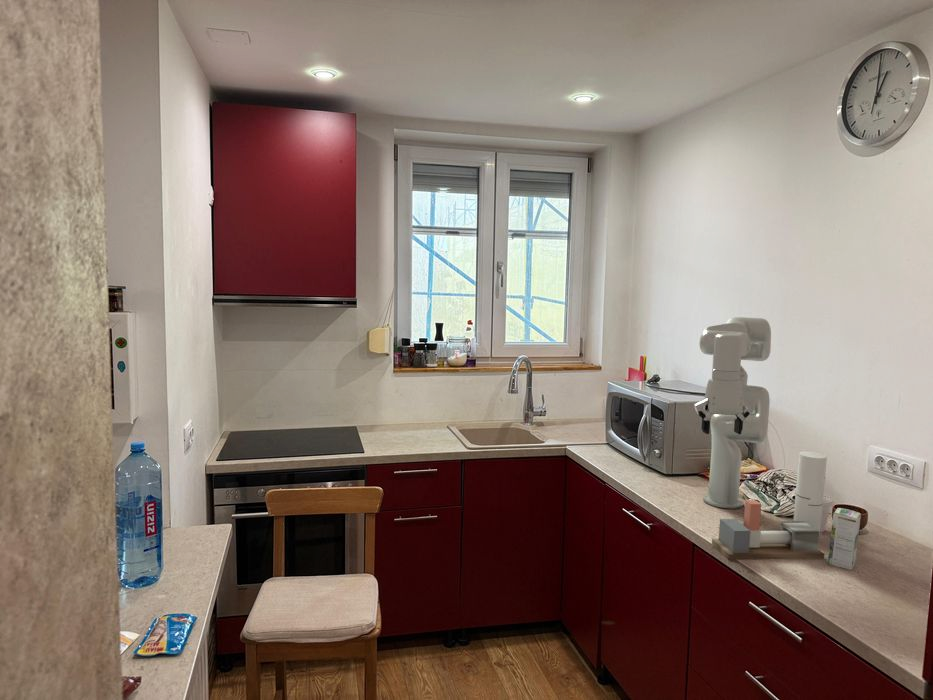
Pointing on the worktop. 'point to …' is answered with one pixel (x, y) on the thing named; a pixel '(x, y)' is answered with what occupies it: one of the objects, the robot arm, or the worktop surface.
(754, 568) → the worktop surface
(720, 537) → the socket
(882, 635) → the worktop surface
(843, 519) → the syrup box
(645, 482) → the worktop surface
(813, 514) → the cylindrical container
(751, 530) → the slide bolt
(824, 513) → the smoothie
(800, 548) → the roller board
